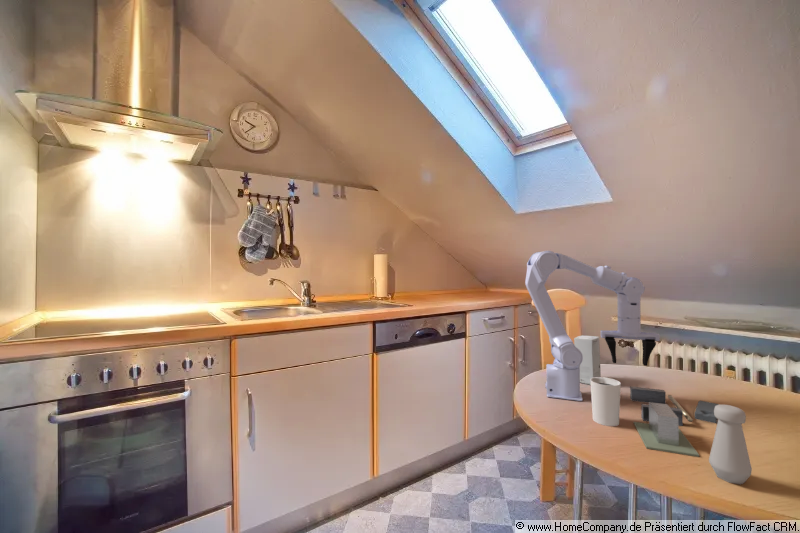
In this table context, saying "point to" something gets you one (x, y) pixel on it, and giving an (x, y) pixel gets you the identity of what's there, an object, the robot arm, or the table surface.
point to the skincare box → (589, 357)
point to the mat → (653, 444)
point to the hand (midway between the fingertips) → (629, 363)
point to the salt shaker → (730, 446)
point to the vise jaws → (656, 397)
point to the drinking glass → (605, 400)
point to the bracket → (706, 411)
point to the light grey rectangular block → (663, 424)
